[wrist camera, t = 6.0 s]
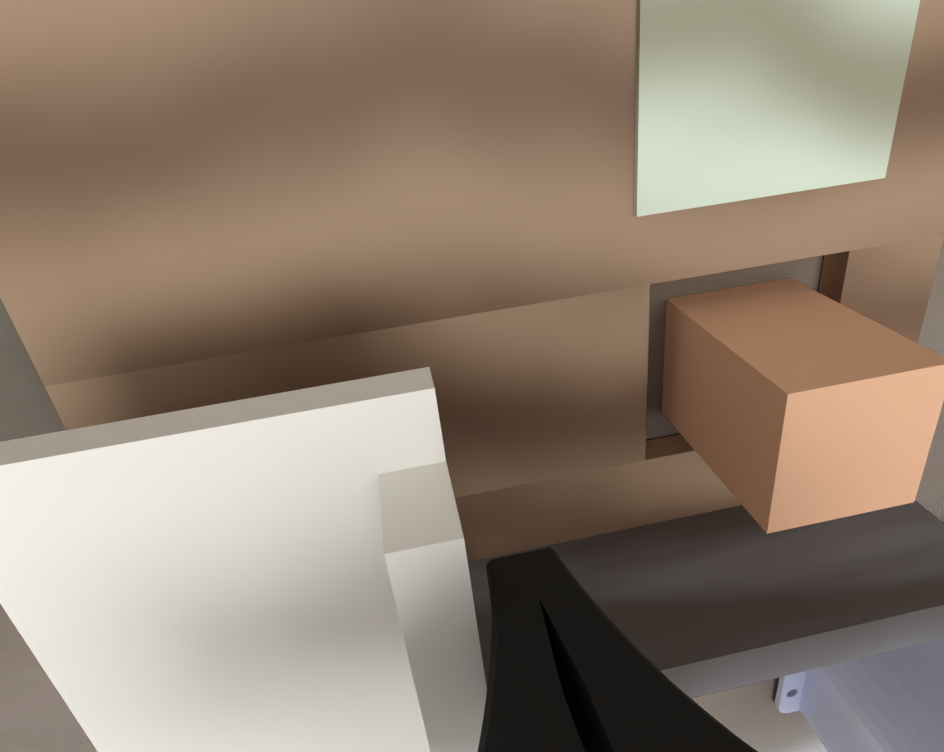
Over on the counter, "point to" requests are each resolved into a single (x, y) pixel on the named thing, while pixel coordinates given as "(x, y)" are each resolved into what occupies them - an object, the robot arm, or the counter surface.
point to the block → (799, 401)
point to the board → (492, 258)
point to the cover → (250, 574)
